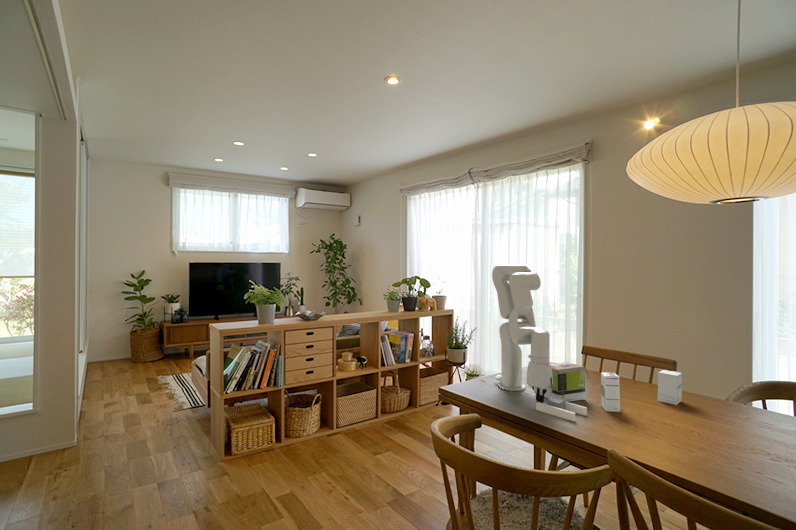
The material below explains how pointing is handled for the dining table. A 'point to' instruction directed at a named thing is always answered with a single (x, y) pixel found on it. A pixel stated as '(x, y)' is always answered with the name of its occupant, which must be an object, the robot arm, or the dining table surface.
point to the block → (556, 403)
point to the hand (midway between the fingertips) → (540, 403)
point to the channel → (562, 410)
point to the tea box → (568, 382)
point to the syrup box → (610, 392)
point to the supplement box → (670, 387)
